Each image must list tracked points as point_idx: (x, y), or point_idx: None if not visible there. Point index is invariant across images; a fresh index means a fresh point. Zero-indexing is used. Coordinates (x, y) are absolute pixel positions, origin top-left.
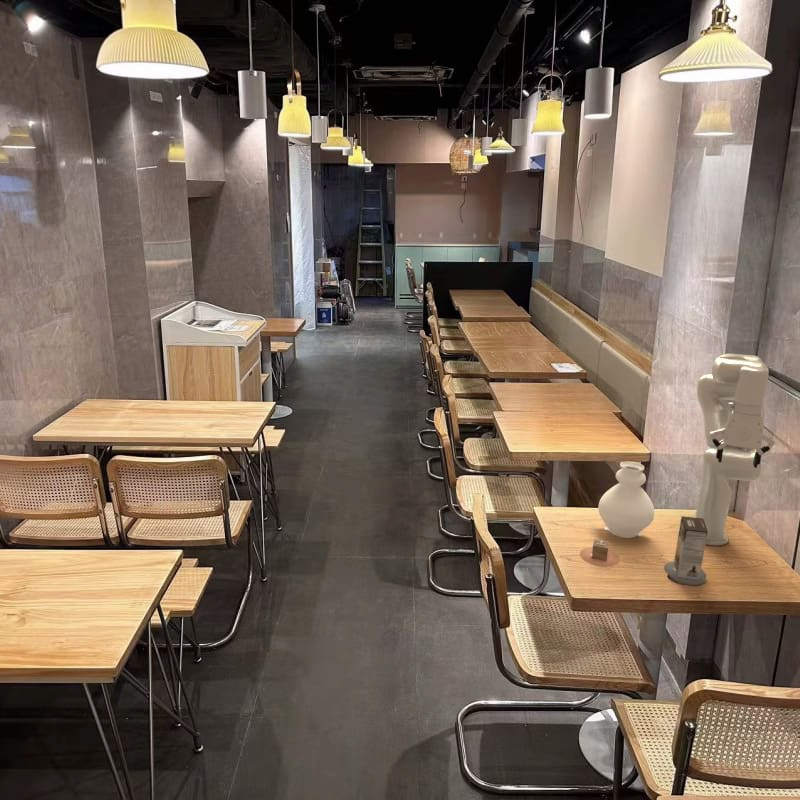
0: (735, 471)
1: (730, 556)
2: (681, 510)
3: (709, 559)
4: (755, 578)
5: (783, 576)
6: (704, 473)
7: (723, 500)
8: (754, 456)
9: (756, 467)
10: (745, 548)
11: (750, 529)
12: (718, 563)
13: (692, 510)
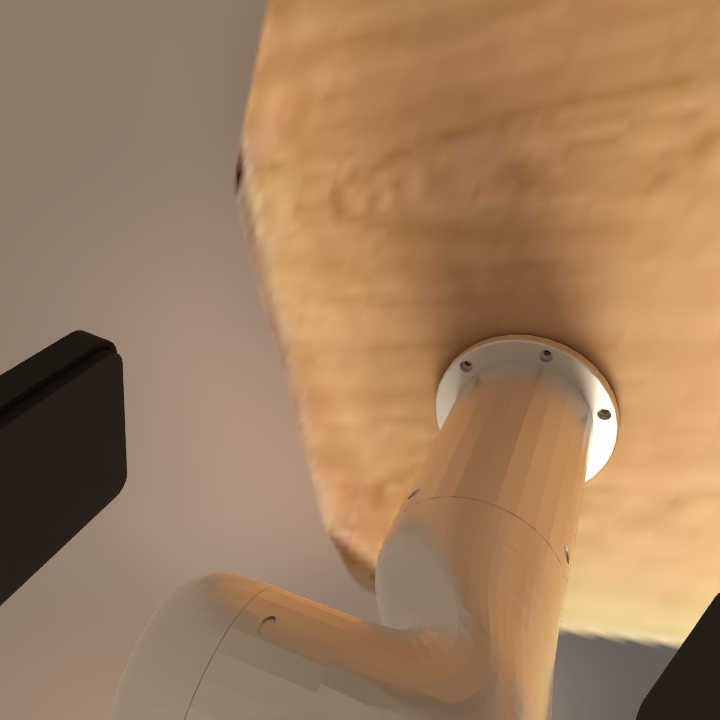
0: (327, 648)
1: (481, 239)
2: None
3: (609, 193)
4: (432, 16)
5: (293, 73)
6: (549, 709)
7: (448, 496)
8: (23, 581)
9: (86, 333)
10: (384, 320)
11: (318, 469)
12: (575, 154)
13: None
